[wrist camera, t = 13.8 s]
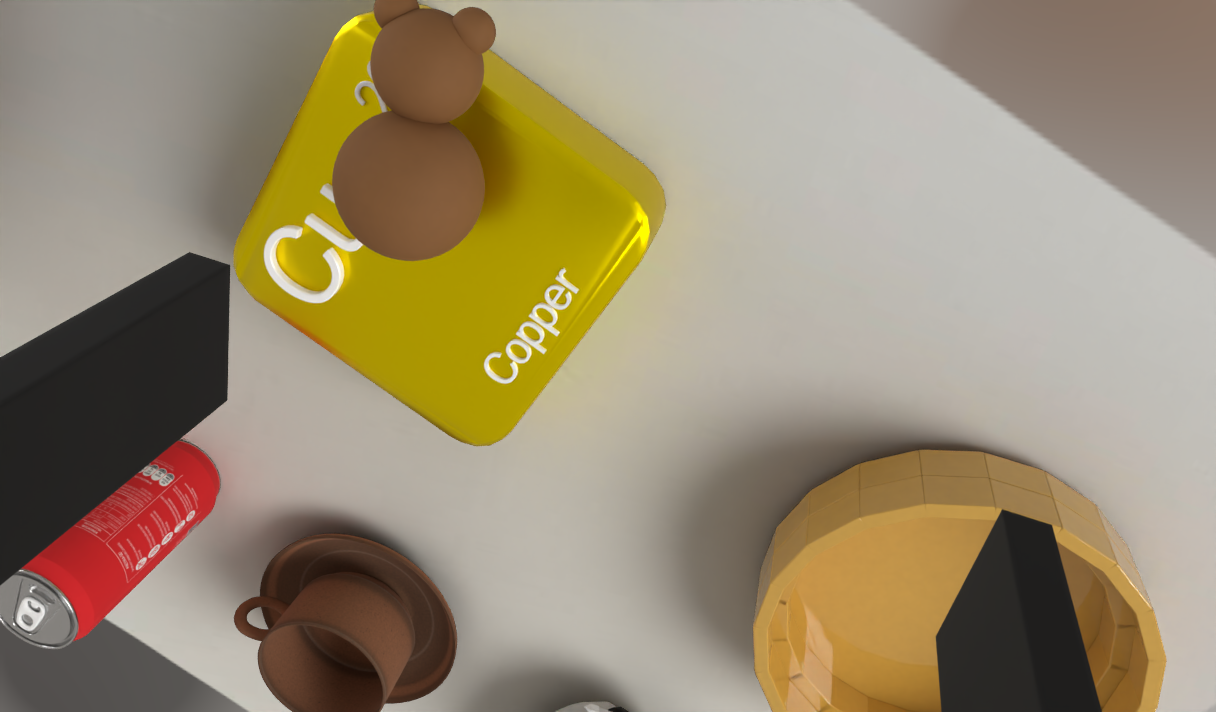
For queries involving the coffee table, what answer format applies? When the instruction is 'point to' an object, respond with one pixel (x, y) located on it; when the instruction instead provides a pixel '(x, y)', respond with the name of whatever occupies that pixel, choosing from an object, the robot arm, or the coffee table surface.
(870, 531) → the ochre bowl
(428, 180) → the plush bear
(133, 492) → the beverage can
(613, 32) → the coffee table surface
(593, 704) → the robot toy
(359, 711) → the cup and saucer
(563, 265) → the element tile
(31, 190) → the coffee table surface
